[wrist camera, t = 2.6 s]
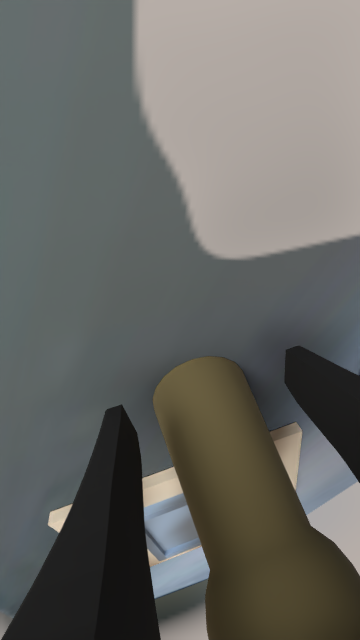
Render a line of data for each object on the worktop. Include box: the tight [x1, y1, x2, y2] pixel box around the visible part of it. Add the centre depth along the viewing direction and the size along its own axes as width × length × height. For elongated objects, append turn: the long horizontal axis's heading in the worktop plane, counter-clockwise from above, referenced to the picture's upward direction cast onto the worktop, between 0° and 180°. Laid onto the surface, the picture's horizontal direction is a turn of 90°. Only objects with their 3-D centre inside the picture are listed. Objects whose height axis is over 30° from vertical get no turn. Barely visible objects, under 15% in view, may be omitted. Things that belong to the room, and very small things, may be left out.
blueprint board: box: [48, 422, 302, 567], centre depth 23 cm, size 20×16×1 cm
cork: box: [153, 356, 360, 640], centre depth 11 cm, size 6×6×11 cm
